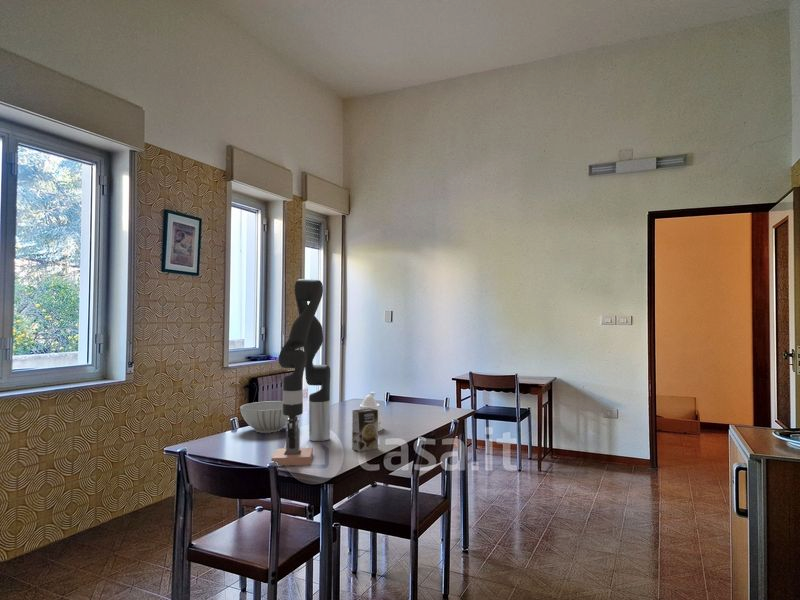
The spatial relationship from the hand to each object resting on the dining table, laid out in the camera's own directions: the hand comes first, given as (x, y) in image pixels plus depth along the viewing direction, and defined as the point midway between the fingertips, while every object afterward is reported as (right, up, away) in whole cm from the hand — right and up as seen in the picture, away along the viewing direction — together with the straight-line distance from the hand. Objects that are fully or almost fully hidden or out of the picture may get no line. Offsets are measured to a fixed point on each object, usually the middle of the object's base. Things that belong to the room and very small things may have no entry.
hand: (292, 446), depth 197 cm
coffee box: (+27, -6, +16) cm, 32 cm away
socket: (0, -5, 0) cm, 5 cm away
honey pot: (+26, -7, +54) cm, 61 cm away
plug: (0, -3, 0) cm, 3 cm away
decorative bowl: (-23, -8, +54) cm, 59 cm away
